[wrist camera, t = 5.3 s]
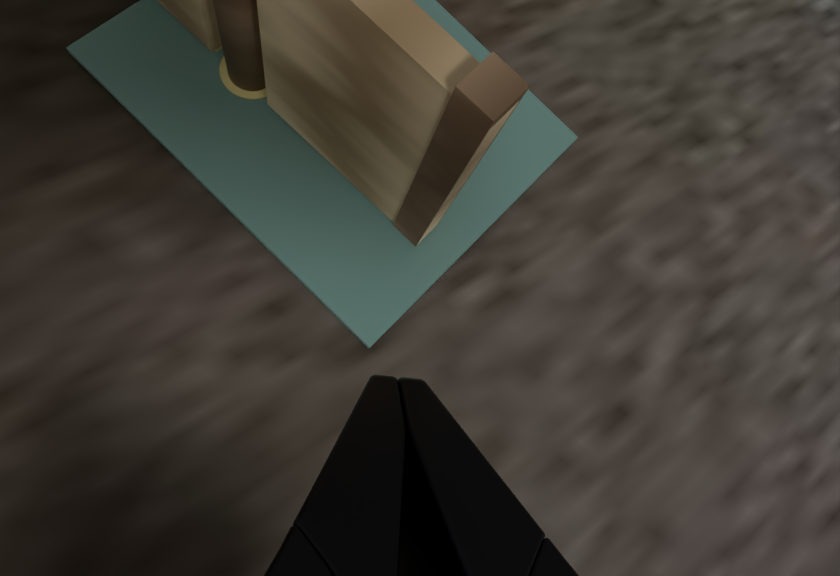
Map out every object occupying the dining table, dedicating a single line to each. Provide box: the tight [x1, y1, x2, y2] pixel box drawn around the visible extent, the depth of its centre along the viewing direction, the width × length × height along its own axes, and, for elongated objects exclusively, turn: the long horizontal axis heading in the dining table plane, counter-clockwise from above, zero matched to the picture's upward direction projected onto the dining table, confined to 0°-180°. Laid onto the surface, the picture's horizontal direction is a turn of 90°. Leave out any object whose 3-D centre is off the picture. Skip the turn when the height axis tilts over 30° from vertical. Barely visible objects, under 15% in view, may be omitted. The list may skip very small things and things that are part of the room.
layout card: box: [66, 0, 578, 349], centre depth 23 cm, size 16×13×1 cm
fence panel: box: [257, 0, 530, 247], centre depth 18 cm, size 8×1×10 cm, turn 48°
